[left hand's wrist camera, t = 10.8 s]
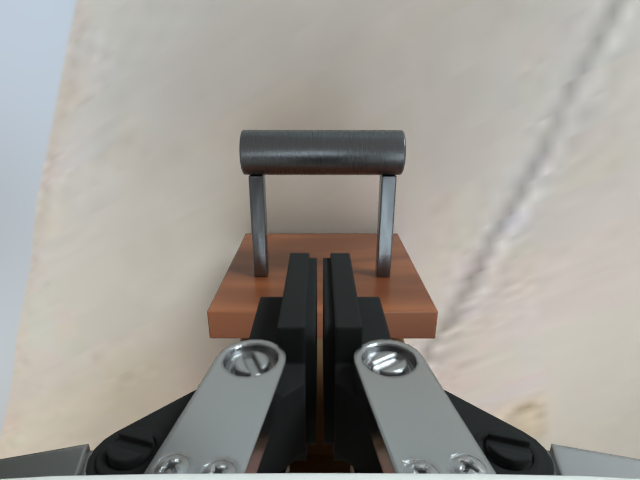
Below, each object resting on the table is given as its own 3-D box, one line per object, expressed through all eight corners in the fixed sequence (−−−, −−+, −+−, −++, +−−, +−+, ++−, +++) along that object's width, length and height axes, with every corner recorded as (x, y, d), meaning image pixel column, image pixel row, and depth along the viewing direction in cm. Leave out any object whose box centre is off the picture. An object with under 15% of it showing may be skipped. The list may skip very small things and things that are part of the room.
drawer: (238, 119, 22) (189, 140, 14) (405, 119, 22) (456, 140, 14) (259, 451, 30) (235, 593, 22) (383, 451, 30) (407, 594, 21)
